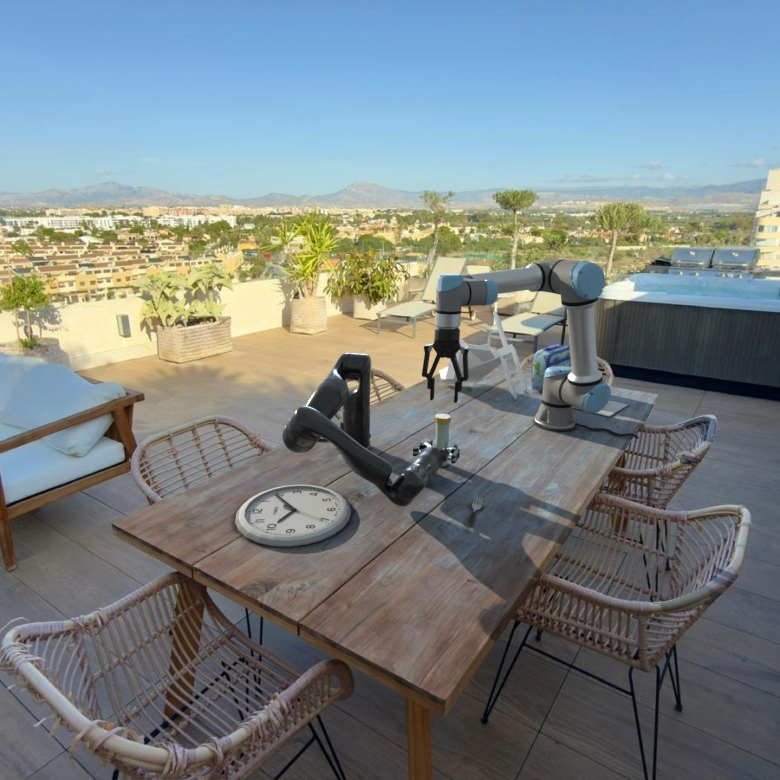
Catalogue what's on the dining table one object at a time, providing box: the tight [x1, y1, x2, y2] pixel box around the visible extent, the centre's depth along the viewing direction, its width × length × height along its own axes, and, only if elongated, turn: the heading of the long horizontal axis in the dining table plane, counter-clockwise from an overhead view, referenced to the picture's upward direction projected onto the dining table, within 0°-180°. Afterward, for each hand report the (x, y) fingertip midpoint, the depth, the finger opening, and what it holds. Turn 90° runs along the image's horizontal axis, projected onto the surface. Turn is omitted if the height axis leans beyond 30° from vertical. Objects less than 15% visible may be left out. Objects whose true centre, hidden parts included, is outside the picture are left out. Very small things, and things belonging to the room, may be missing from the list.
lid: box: [434, 413, 452, 425], centre depth 164 cm, size 5×5×2 cm
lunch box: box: [530, 344, 571, 392], centre depth 247 cm, size 26×11×21 cm, turn 134°
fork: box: [466, 495, 484, 530], centre depth 138 cm, size 3×16×2 cm, turn 160°
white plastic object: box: [438, 310, 531, 400], centre depth 245 cm, size 37×45×31 cm
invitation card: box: [573, 399, 629, 418], centre depth 226 cm, size 21×1×15 cm
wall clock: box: [234, 484, 352, 548], centre depth 138 cm, size 30×2×30 cm
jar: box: [434, 422, 450, 468], centre depth 167 cm, size 4×4×16 cm
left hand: (443, 444), depth 169 cm, fingers open, 7 cm apart
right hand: (443, 400), depth 162 cm, fingers open, 7 cm apart
